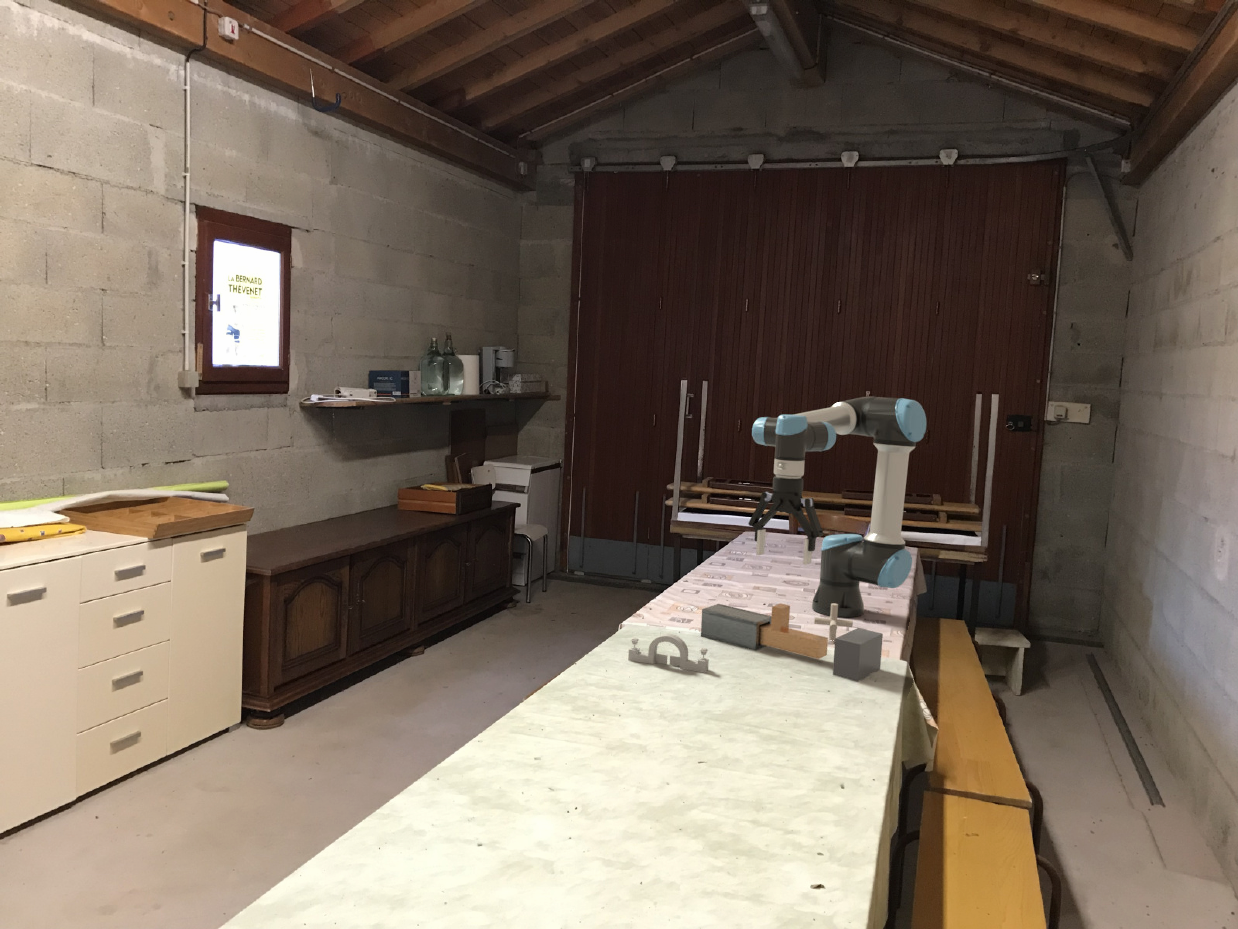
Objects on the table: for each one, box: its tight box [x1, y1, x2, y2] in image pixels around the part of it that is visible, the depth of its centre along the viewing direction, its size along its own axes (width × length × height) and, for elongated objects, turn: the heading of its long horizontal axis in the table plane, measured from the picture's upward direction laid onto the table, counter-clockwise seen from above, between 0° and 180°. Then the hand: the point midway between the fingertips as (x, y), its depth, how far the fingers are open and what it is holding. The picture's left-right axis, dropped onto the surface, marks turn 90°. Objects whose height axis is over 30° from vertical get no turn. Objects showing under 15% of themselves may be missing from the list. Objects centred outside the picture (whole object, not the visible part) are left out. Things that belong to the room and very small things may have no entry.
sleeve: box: [700, 603, 772, 652], centre depth 253 cm, size 8×17×8 cm, turn 51°
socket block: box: [832, 627, 884, 682], centre depth 231 cm, size 12×6×9 cm, turn 141°
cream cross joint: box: [813, 603, 854, 642], centre depth 256 cm, size 10×10×10 cm
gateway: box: [628, 633, 710, 673], centre depth 231 cm, size 20×2×8 cm, turn 69°
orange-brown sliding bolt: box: [758, 603, 829, 660], centre depth 246 cm, size 4×30×10 cm, turn 50°
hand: (783, 559), depth 242 cm, fingers open, 13 cm apart
